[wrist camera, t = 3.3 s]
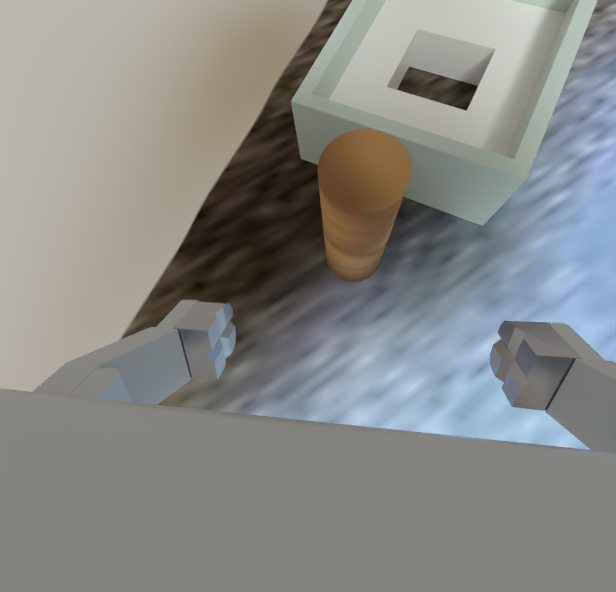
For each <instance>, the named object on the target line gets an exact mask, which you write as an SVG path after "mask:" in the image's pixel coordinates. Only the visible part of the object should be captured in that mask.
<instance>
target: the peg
mask: <svg viewBox="0 0 616 592" xmlns="http://www.w3.org/2000/svg"><path fill="white" fill-rule="evenodd" d="M411 172H412V165H411V159H410V156H409V154H408V151H407V150H406V148H405V147H404V145H403V144H402V143H401V142H400V141H399V140H397V139H396V138H395V137H393V136H392V135H390V134H388V133H385V132H383V131H379V130H375V129H357V130H352V131H349V132H346V133H344V134H341V135H340V136H338V137H336V138H335V139H334V140H332V141H331V142H330V143H329V144H328V145H327V146H326V147H325V149H324V150H323V152H322V154H321V156H320V158H319V162H318V182H319V192H320V202H321V211H322V221H323V231H324V241H325V251H326V260H327V264H328V267H329V269H330V270H331V272H332V273H333V274H334V275H336V276H337V277H338V278H340V279H342V280H345V281H350V282H357V281H362V280H364V279H367V278H368V277H370V276H371V275H372V274H373V273H374V272H375V271H376V270H377V268H378V266H379V264H380V261H381V258H382V255H383V253H384V250H385V247H386V244H387V241H388V239H389V236H390V233H391V230H392V227H393V225H394V222H395V219H396V216H397V213H398V211H399V208H400V205H401V202H402V199H403V197H404V194H405V191H406V188H407V185H408V183H409V180H410V177H411Z"/></svg>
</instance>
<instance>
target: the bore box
mask: <svg viewBox="0 0 616 592" xmlns="http://www.w3.org/2000/svg"><path fill="white" fill-rule="evenodd" d="M596 2H597V0H352V2H351V3H350V5H349V7H348V8H347V10H346V12H345V13H344V15H343V17H342V18H341V20H340V22H339V23H338V25H337V26H336V28H335V30H334V31H333V33H332V35H331V36H330V38H329V40H328V41H327V43H326V44H325V46H324V48H323V49H322V51H321V53H320V54H319V56H318V58H317V59H316V61H315V62H314V64H313V66H312V67H311V69H310V71H309V72H308V74H307V76H306V77H305V79H304V80H303V82H302V84H301V85H300V87H299V89H298V90H297V92H296V94H295V95H294V97H293V98H292V100H291V105H292V111H293V117H294V122H295V128H296V134H297V140H298V146H299V152H300V157H301V159H303V160H306V161H308V162H311V163H314V164H316V165H318V162H319V158H320V156H321V154H322V152H323V150H324V149H325V147H326V146H327V145H328V144H329V143H330V142H331V141H332V140H334V139H335V138H336V137H338V136H340V135H341V134H344V133H346V132H349V131H352V130H357V129H375V130H379V131H383V132H385V133H388V134H390V135H392V136H393V137H395V138H396V139H397V140H399V141H400V142H401V143H402V144H403V145H404V147H405V148H406V150H407V151H408V154H409V156H410V159H411V165H412V172H411V177H410V180H409V183H408V185H407V188H406V191H405V194H404V197H406V198H408V199H411V200H414V201H416V202H419V203H422V204H424V205H427V206H430V207H433V208H435V209H438V210H441V211H443V212H446V213H449V214H451V215H454V216H457V217H460V218H462V219H465V220H468V221H470V222H473V223H476V224H478V225H481V226H483V225H484V224H485V223H486V222H487V221H488V220H489V219H490V218H491V217H492V215H493V214H494V213H495V212H496V211H497V210H498V209H499V208H500V207H501V206H502V205H503V204H504V203H505V202H506V201H507V200H508V199H509V197H510V196H511V195H512V194H513V193H514V192H515V191H516V190H517V189H518V188H519V187H520V186H521V185H522V184H523V183H524V182H525V181H526V179H527V177H528V175H529V172H530V170H531V167H532V164H533V162H534V159H535V157H536V154H537V152H538V149H539V147H540V144H541V142H542V139H543V137H544V134H545V132H546V129H547V127H548V124H549V121H550V119H551V116H552V114H553V111H554V109H555V106H556V104H557V101H558V99H559V96H560V94H561V91H562V89H563V86H564V83H565V81H566V78H567V76H568V73H569V71H570V68H571V66H572V63H573V61H574V58H575V56H576V53H577V51H578V48H579V46H580V43H581V40H582V38H583V35H584V33H585V30H586V28H587V25H588V23H589V20H590V18H591V15H592V13H593V10H594V8H595V5H596ZM409 67H412V68H416V69H419V70H423V71H426V72H430V73H434V74H437V75H441V76H444V77H448V78H451V79H455V80H458V81H462V82H466V83H469V84H473V85H476V86H478V87H477V89H476V91H475V94H474V96H473V98H472V100H471V102H470V104H469V106H468V109H467V111H466V110H462V109H459V108H456V107H452V106H449V105H446V104H442V103H439V102H436V101H432V100H429V99H426V98H422V97H419V96H416V95H412V94H409V93H406V92H402V91H399V90H397V89H398V87H399V85H400V83H401V81H402V79H403V77H404V76H405V74H406V72H407V70H408V68H409Z"/></svg>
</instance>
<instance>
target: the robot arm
mask: <svg viewBox="0 0 616 592" xmlns="http://www.w3.org/2000/svg"><path fill="white" fill-rule="evenodd" d="M232 316H233V310H232V306H231V304H230V303H225V302H213V301H201V300H200V301H199V300H186V299H185V300H181V301H180V302H179V303H178V304H177V305H176V307H175V308H174V309H173V310H172V311H171V312H170V313H169V314H168V315H167V316H166V317H165V318H164V319H163V320H162V321H161V322H160V323H159V325H158V326H157V327H150V328H148V329H145V330H143V331H140V332H138V333H136V334H133V335H131V336H129V337H126V338H124V339H121V340H119V341H117V342H115V343H112V344H110V345H107V346H105V347H103V348H100V349H98V350H95V351H93V352H91V353H88V354H86V355H84V356H81V357H79V358H77V359H74V360H72V361H70V362H67V363H65V364H64V365H63V366H62V367H61V368H60V369H58V370H57V371H56V372H55V373H54V374H53V375H51V377H49V378H48V379H47V380H46V381H45V382H43V383H42V384H41V385H40V386H39V387H37V388H36V389H35V390H34V391H33V392H27V391H17V390H8V389H0V592H616V363H614V362H612V361H605V360H604V359H603V358H602V357H601V356H600V355H599V354H598V353H597V352H596V351H595V350H594V349H593V348H592V347H590V346H589V345H588V344H587V343H586V342H585V341H584V340H583V339H582V338H581V337H580V336H579V335H578V334H577V333H576V332H575V331H574V330H573V329H572V328H571V327H570V326H569V325H567V324H564V323H549V322H519V321H504V322H503V323H502V324H501V326H500V328H499V331H498V334H499V336H500V338H501V340H499V341H498V342H496V343H495V344H494V345H493V347H492V350H491V353H490V364H491V368H492V371H493V373H494V375H495V376H496V377H497V378H498V379H500V380H501V381H503V382H504V384H503V386H502V390H503V391H504V393H505V395H506V397H507V399H508V400H509V402H510V404H511V406H512V407H518V408H527V409H535V410H544V411H546V413H547V414H549V415H550V416H551V417H552V418H554V419H555V420H556V421H557V422H558V423H560V424H561V425H562V426H563V427H564V428H566V429H567V430H568V431H569V432H570V433H572V434H573V435H574V436H575V437H576V438H578V439H579V440H580V441H581V442H582V443H584V444H585V445H586V446H587V447H588V448H590V449H591V450H584V449H574V448H565V447H555V446H546V445H536V444H527V443H517V442H508V441H498V440H489V439H479V438H470V437H460V436H451V435H441V434H432V433H422V432H412V431H403V430H393V429H383V428H373V427H364V426H354V425H344V424H334V423H325V422H315V421H305V420H295V419H286V418H276V417H267V416H257V415H248V414H238V413H228V412H219V411H209V410H200V409H190V408H180V407H171V406H161V405H157V404H159V403H160V402H161V401H163V400H164V399H165V398H167V397H168V396H169V395H171V394H172V393H173V392H175V391H176V390H177V389H179V388H180V387H181V386H183V385H184V384H185V383H187V382H188V381H189V380H191V378H200V379H216V380H218V379H219V377H220V375H221V373H222V371H223V369H224V367H225V365H226V362H225V358H226V357H228V356H229V355H231V353H232V351H233V349H234V346H235V341H236V329H235V326H234V324H233V323H232V322H231V321H230V320H231V318H232Z"/></svg>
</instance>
